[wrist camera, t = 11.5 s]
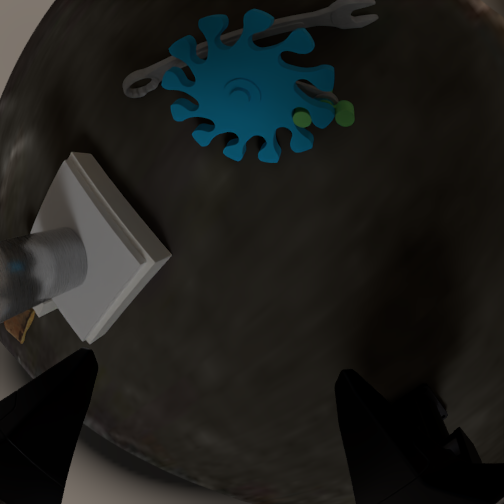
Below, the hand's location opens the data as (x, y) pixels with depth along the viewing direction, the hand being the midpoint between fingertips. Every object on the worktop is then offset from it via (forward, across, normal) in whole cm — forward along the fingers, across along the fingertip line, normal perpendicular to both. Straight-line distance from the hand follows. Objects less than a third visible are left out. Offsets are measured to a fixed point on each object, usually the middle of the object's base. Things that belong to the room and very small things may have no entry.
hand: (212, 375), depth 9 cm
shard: (+17, +31, +14) cm, 38 cm away
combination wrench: (+15, 0, -15) cm, 21 cm away
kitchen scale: (+14, +14, +3) cm, 20 cm away
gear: (+13, -2, -9) cm, 16 cm away
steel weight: (+11, +13, +2) cm, 17 cm away
